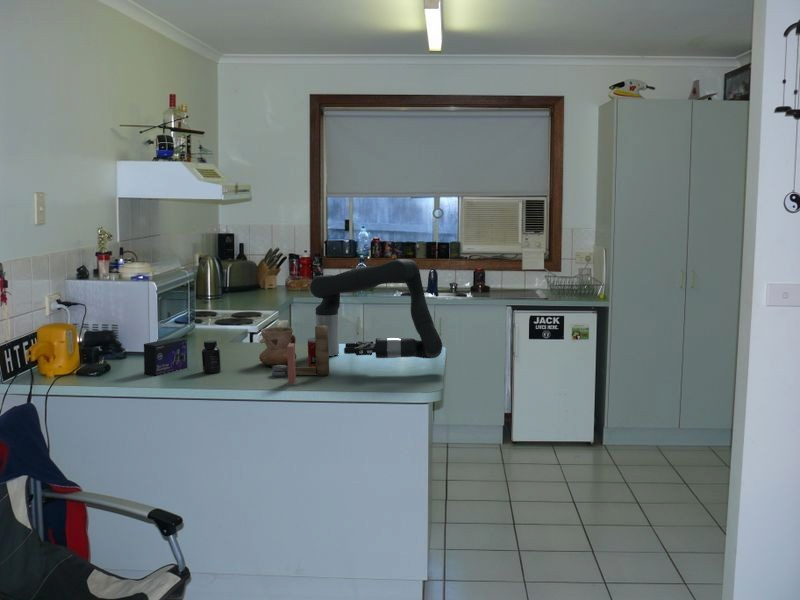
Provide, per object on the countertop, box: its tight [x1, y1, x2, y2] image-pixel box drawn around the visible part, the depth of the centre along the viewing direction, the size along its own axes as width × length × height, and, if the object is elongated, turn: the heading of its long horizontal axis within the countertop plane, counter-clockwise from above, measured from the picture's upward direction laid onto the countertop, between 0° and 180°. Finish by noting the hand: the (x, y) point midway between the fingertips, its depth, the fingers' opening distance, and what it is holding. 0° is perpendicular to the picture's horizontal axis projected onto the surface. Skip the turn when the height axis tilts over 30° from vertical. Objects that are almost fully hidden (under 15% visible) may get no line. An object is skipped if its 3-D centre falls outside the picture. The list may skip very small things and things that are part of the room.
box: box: [143, 336, 188, 376], centre depth 343 cm, size 17×7×12 cm, turn 149°
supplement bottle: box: [201, 339, 222, 375], centre depth 340 cm, size 7×7×12 cm
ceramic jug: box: [259, 326, 297, 367], centre depth 352 cm, size 18×14×14 cm
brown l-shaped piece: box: [272, 325, 330, 377], centre depth 331 cm, size 5×21×18 cm, turn 90°
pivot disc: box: [271, 369, 288, 378], centre depth 332 cm, size 6×6×2 cm
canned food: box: [307, 337, 316, 367], centre depth 347 cm, size 8×8×11 cm
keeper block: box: [286, 342, 298, 387], centre depth 319 cm, size 7×3×14 cm, turn 0°
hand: (344, 348), depth 331 cm, fingers open, 8 cm apart
